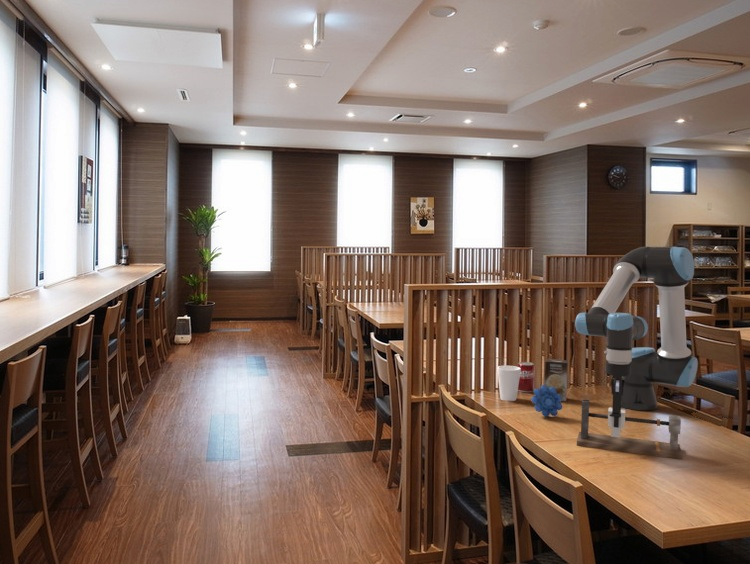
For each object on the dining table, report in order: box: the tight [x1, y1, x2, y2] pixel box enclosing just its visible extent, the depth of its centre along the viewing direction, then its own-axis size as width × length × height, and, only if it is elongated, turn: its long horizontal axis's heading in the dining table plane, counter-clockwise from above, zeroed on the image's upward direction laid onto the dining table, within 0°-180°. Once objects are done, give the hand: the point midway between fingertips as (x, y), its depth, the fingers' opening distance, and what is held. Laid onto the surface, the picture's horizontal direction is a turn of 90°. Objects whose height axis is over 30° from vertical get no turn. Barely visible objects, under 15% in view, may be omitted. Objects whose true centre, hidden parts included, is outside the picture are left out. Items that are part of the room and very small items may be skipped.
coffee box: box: [543, 358, 569, 402], centre depth 249 cm, size 9×6×16 cm
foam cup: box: [496, 365, 521, 402], centre depth 248 cm, size 10×9×13 cm
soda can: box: [516, 361, 535, 393], centre depth 262 cm, size 7×7×12 cm
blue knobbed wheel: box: [530, 384, 563, 418], centre depth 222 cm, size 12×7×12 cm, turn 91°
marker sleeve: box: [607, 406, 626, 430], centre depth 191 cm, size 5×5×5 cm
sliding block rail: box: [576, 398, 683, 460], centre depth 190 cm, size 30×10×14 cm, turn 67°
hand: (615, 433), depth 192 cm, fingers closed on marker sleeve, 5 cm apart
